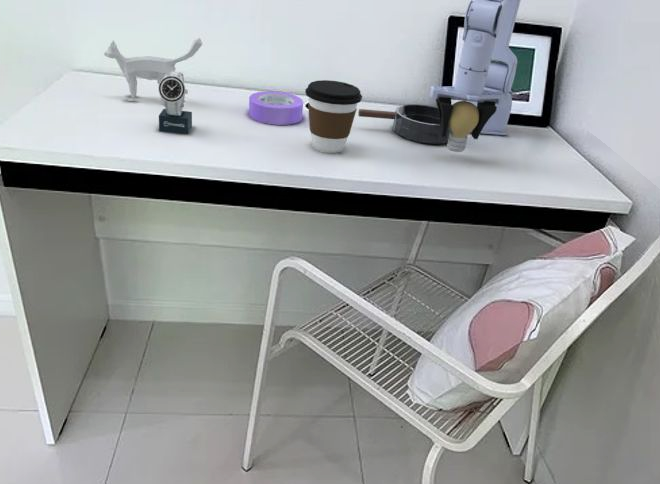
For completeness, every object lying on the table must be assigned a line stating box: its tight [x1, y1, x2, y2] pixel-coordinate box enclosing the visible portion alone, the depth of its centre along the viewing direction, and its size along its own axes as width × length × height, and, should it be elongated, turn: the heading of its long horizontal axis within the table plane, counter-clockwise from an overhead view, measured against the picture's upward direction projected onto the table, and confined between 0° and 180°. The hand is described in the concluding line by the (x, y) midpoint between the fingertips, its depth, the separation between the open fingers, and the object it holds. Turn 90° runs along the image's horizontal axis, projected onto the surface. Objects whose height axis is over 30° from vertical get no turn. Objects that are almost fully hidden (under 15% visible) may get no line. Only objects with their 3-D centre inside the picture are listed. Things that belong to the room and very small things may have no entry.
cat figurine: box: [103, 37, 203, 102], centre depth 135 cm, size 4×20×14 cm, turn 97°
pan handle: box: [357, 108, 396, 120], centre depth 138 cm, size 8×2×2 cm, turn 97°
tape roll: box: [248, 90, 304, 126], centre depth 139 cm, size 12×12×4 cm
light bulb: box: [446, 100, 479, 153], centre depth 127 cm, size 6×6×10 cm
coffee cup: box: [304, 79, 363, 154], centre depth 124 cm, size 11×11×12 cm
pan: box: [392, 103, 451, 145], centre depth 141 cm, size 14×14×4 cm
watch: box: [157, 71, 193, 135], centre depth 123 cm, size 6×8×11 cm
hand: (458, 136), depth 128 cm, fingers closed on light bulb, 6 cm apart
